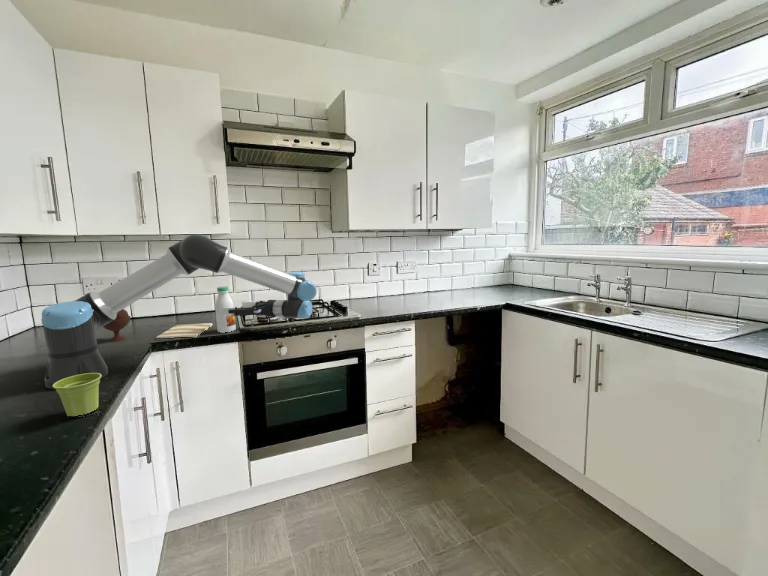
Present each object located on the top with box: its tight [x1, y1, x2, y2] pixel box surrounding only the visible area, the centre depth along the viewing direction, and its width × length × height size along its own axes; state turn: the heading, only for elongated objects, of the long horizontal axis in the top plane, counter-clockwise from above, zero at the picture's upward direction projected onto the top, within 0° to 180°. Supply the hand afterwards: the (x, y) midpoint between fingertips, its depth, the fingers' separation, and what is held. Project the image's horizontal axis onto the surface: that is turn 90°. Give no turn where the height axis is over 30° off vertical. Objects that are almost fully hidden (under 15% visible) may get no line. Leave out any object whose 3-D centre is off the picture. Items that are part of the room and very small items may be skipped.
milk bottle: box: [214, 285, 237, 334], centre depth 167 cm, size 8×8×20 cm
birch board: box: [156, 322, 213, 339], centre depth 168 cm, size 20×16×1 cm
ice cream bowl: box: [102, 308, 131, 343], centre depth 157 cm, size 11×11×15 cm
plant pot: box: [53, 373, 102, 417], centre depth 93 cm, size 9×9×9 cm
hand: (233, 307), depth 166 cm, fingers open, 13 cm apart
